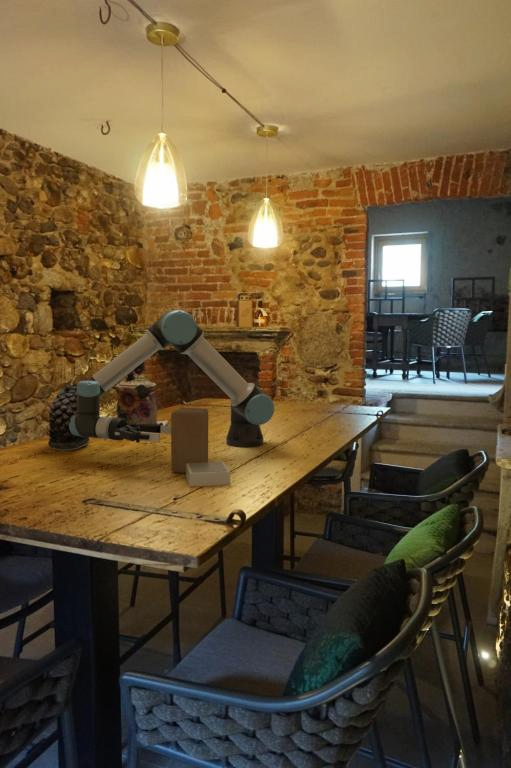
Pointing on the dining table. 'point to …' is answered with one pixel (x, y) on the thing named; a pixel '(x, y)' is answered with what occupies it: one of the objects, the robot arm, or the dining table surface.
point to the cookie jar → (137, 399)
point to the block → (188, 437)
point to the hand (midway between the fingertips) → (169, 434)
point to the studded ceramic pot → (64, 420)
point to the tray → (207, 474)
